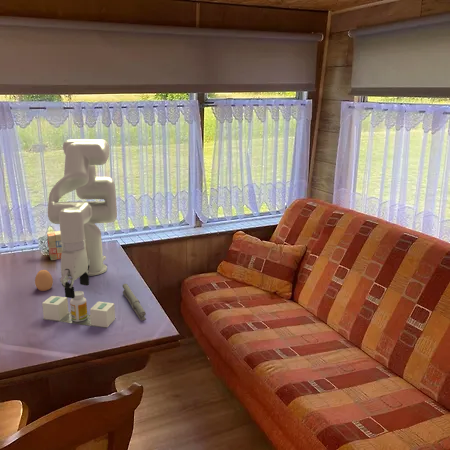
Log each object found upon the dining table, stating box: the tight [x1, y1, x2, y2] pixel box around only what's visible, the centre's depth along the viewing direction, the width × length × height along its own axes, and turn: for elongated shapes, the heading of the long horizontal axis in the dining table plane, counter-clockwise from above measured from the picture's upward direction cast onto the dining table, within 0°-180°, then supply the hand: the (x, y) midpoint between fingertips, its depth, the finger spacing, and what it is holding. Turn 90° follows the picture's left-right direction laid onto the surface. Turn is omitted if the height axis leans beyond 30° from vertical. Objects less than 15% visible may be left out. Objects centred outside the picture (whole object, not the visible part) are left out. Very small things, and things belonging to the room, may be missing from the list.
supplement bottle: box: [69, 290, 88, 322], centre depth 160 cm, size 5×5×10 cm
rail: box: [43, 311, 117, 329], centre depth 161 cm, size 7×24×1 cm, turn 77°
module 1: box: [41, 295, 70, 322], centre depth 162 cm, size 6×6×6 cm
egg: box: [34, 269, 54, 292], centre depth 183 cm, size 7×7×9 cm
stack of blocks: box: [46, 230, 62, 261], centre depth 222 cm, size 21×6×12 cm, turn 116°
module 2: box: [89, 301, 116, 328], centre depth 159 cm, size 6×6×6 cm
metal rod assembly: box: [122, 283, 147, 321], centre depth 172 cm, size 26×3×5 cm, turn 26°
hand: (77, 290), depth 159 cm, fingers open, 9 cm apart
